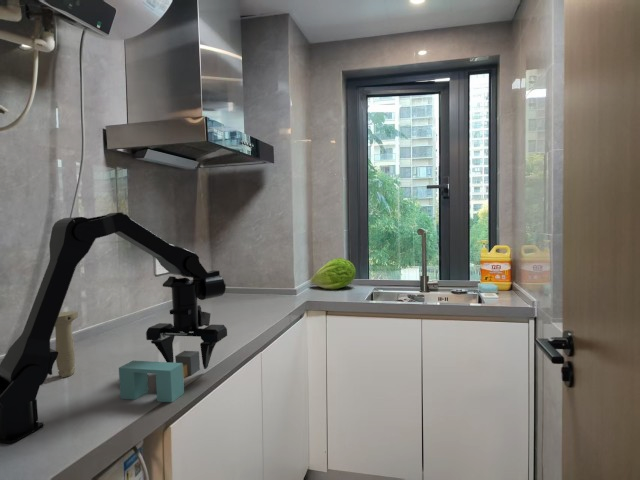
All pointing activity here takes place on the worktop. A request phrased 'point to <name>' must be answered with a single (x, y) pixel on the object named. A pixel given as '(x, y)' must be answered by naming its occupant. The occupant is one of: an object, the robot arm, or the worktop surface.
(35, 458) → the worktop surface
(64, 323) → the handle
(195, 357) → the plug
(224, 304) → the worktop surface
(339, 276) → the lettuce
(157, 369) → the housing
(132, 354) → the worktop surface
